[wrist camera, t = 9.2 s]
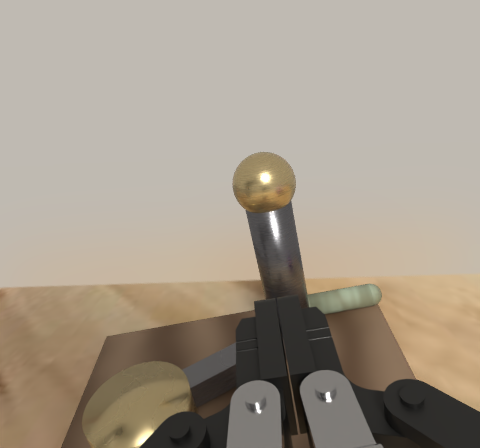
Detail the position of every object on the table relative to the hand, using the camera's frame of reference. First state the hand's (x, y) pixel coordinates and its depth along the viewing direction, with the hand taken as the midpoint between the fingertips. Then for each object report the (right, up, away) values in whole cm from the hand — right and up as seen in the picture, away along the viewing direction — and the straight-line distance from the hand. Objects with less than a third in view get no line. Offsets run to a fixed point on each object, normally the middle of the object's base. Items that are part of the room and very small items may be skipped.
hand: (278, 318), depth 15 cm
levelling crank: (-3, -8, +16) cm, 18 cm away
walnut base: (-1, -10, +16) cm, 19 cm away
